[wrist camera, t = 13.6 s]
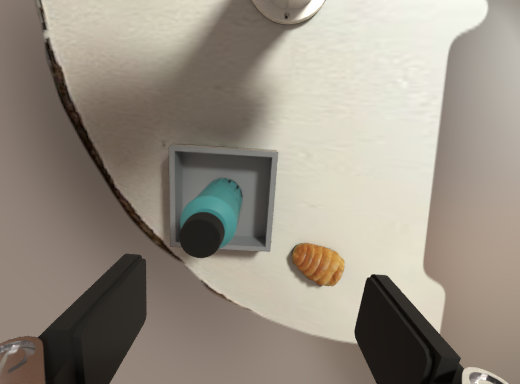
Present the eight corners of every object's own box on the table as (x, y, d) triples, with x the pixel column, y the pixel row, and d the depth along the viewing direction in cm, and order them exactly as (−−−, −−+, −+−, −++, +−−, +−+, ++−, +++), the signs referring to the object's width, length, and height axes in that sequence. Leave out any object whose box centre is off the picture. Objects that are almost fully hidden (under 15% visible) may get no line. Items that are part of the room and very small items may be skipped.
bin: (179, 143, 41) (168, 145, 36) (275, 150, 42) (278, 152, 37) (179, 234, 45) (170, 246, 40) (268, 239, 45) (270, 251, 40)
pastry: (283, 262, 47) (286, 273, 43) (302, 232, 46) (306, 241, 42) (326, 283, 48) (332, 295, 44) (345, 255, 47) (353, 265, 43)
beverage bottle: (201, 206, 43) (155, 263, 23) (212, 169, 41) (172, 196, 22) (238, 217, 43) (223, 282, 24) (249, 181, 42) (243, 218, 22)
